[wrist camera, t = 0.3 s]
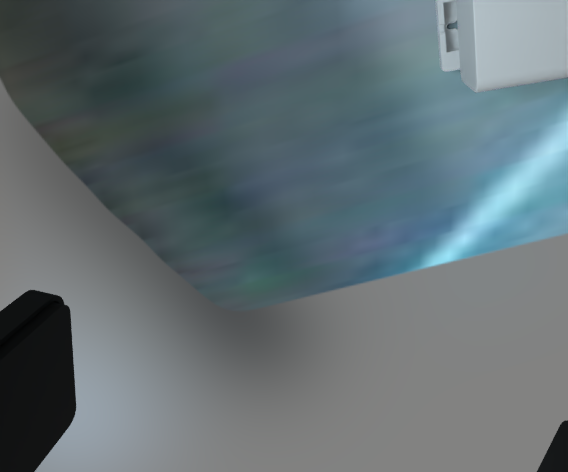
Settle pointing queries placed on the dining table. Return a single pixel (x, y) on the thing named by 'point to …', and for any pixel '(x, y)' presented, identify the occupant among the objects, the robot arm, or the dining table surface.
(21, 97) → the dining table surface
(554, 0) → the security camera
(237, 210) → the dining table surface
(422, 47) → the dining table surface
